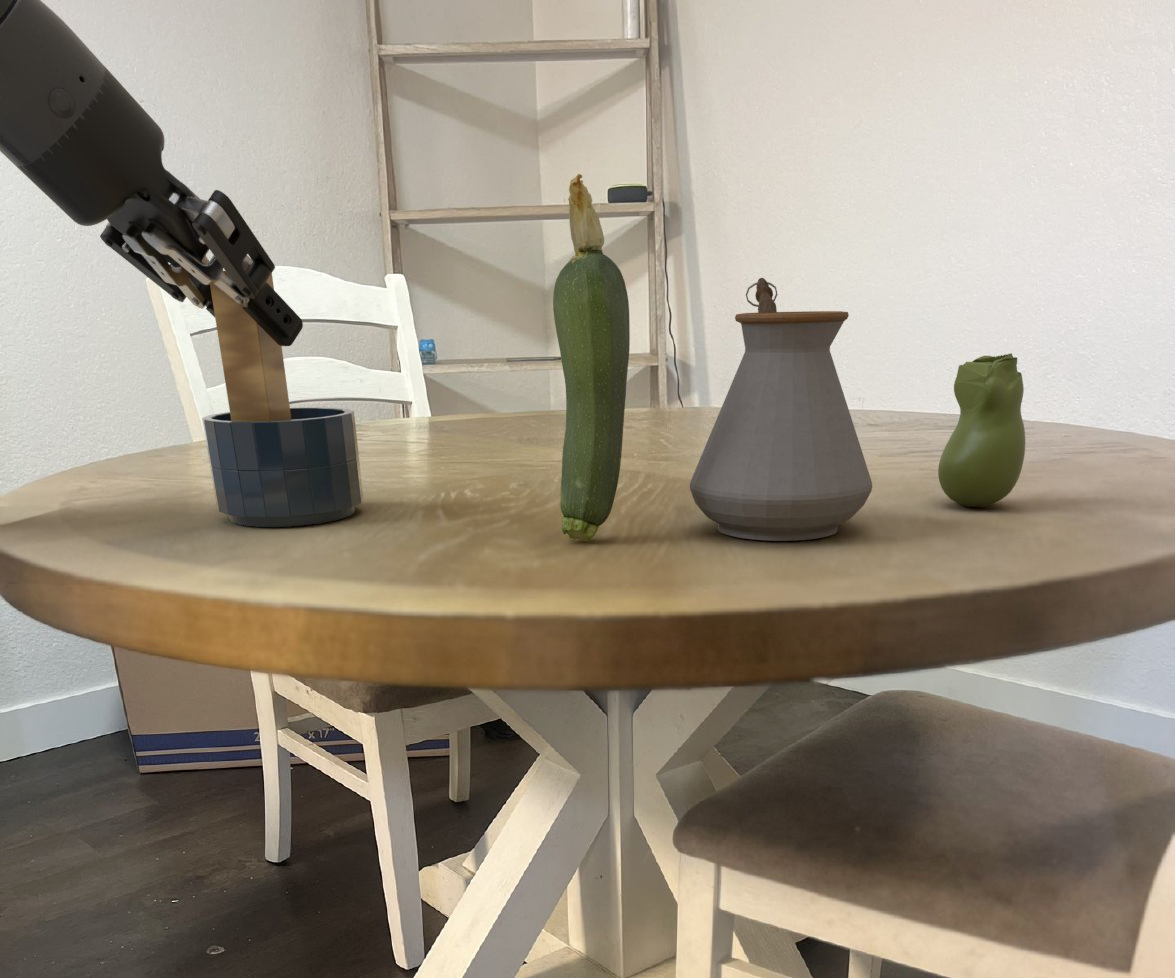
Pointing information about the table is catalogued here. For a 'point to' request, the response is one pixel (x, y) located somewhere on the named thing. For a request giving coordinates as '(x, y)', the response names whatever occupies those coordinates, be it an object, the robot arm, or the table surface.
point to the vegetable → (591, 370)
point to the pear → (985, 433)
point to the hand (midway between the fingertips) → (274, 335)
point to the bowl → (285, 467)
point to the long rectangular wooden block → (249, 363)
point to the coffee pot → (783, 433)
